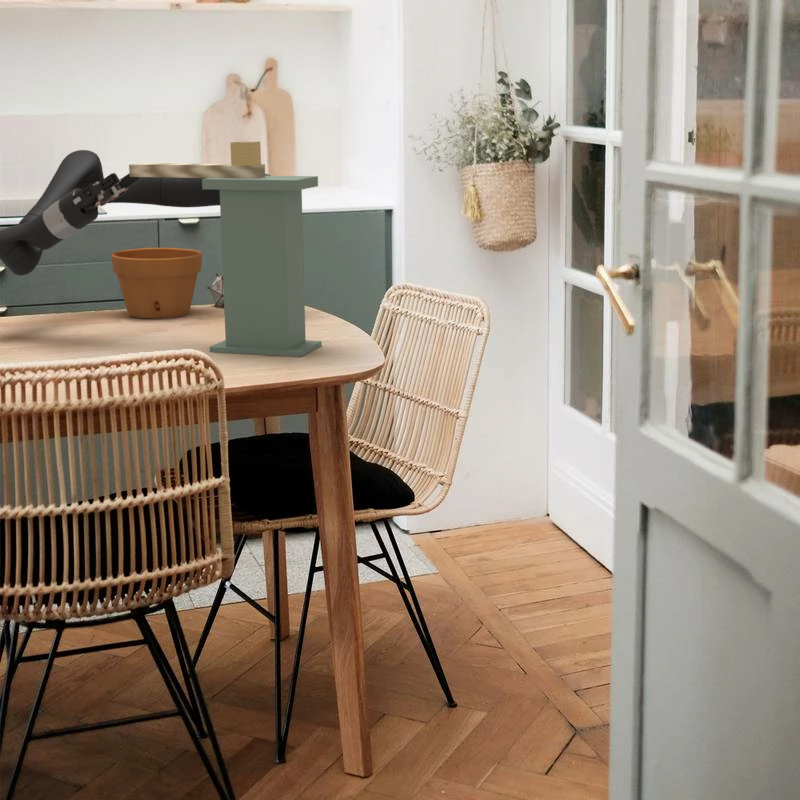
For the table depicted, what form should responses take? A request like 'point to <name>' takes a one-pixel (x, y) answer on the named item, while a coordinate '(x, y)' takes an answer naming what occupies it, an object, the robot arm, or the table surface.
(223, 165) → the wooden plank
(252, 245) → the shelf stand
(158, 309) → the flower pot
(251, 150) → the cube
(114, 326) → the table surface
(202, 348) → the table surface
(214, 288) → the game die
